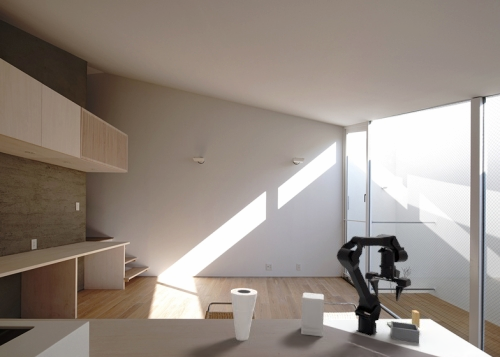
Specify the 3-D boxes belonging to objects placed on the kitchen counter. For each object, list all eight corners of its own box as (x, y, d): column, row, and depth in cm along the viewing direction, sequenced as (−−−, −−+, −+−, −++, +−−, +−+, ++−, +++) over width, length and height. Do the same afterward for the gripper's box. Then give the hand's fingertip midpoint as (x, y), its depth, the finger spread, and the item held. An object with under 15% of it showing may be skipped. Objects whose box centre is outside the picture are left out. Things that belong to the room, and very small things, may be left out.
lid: (394, 332, 151) (394, 313, 152) (386, 325, 160) (387, 307, 160) (422, 333, 151) (422, 314, 152) (413, 326, 160) (413, 308, 160)
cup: (259, 336, 140) (261, 290, 141) (248, 346, 131) (250, 296, 132) (236, 331, 145) (238, 286, 146) (223, 340, 135) (225, 292, 136)
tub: (391, 339, 142) (392, 327, 143) (390, 333, 150) (390, 321, 150) (419, 344, 139) (419, 331, 139) (416, 336, 147) (416, 324, 147)
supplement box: (323, 337, 142) (324, 299, 143) (300, 334, 144) (301, 297, 145) (322, 329, 151) (324, 293, 152) (301, 326, 153) (303, 291, 154)
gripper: (416, 264, 156) (415, 300, 155) (376, 258, 169) (375, 291, 168) (405, 267, 148) (405, 305, 147) (364, 260, 161) (364, 294, 161)
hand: (386, 298), depth 156 cm, fingers open, 9 cm apart
